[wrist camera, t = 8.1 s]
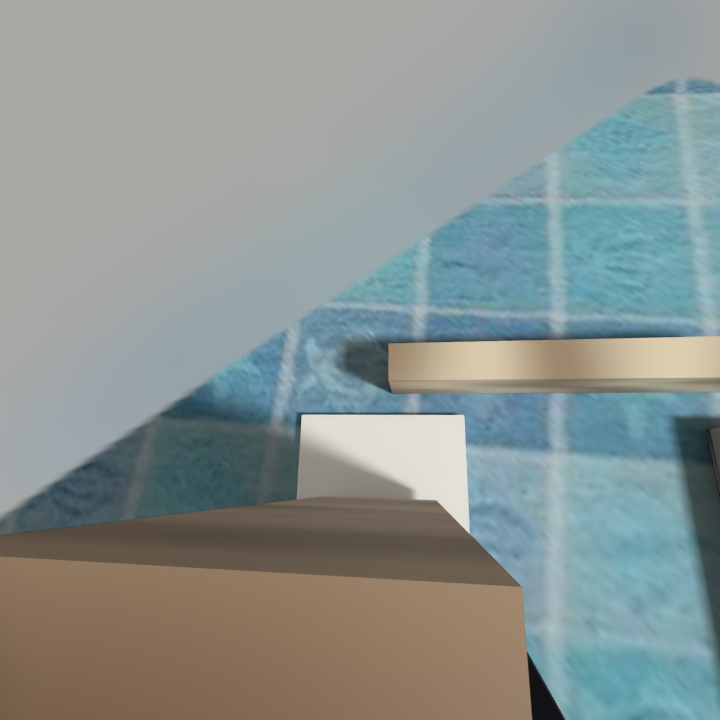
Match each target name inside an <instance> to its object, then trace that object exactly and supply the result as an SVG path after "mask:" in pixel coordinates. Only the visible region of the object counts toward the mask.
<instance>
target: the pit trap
mask: <svg viewBox="0 0 720 720" xmlns="http://www.w3.org/2000/svg"><path fill="white" fill-rule="evenodd" d="M706 431H707V436H708V441H709V445H710V450H711V455H712V460H713V465H714V469H715V474H716V479H717V484H718V489H719V493H720V427H718V428H713V429H707V430H706Z"/></svg>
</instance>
